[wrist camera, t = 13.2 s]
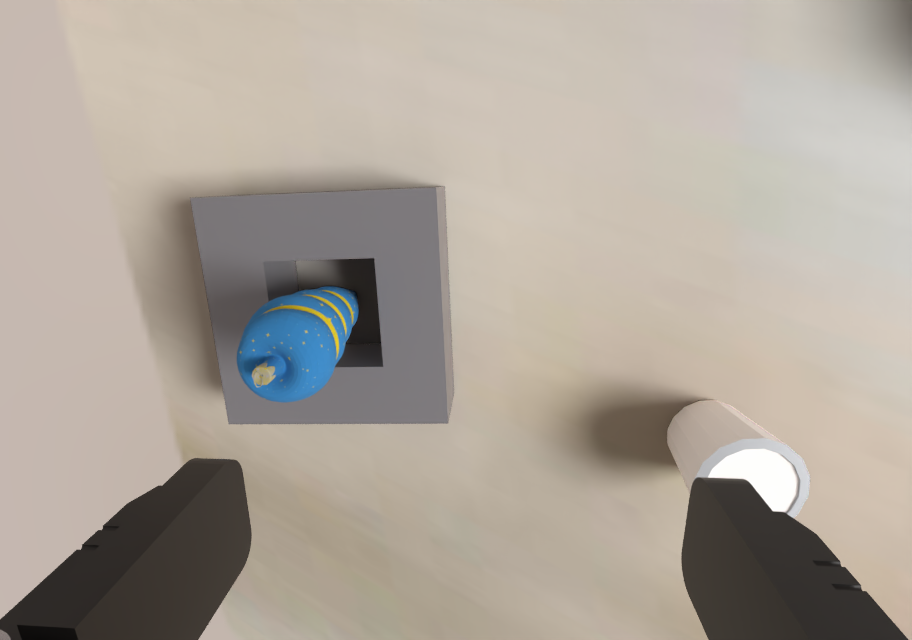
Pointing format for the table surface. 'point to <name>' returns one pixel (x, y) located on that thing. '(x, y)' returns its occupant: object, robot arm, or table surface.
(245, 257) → the socket block
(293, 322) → the ornament
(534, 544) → the table surface
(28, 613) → the robot arm
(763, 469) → the white short cylinder
